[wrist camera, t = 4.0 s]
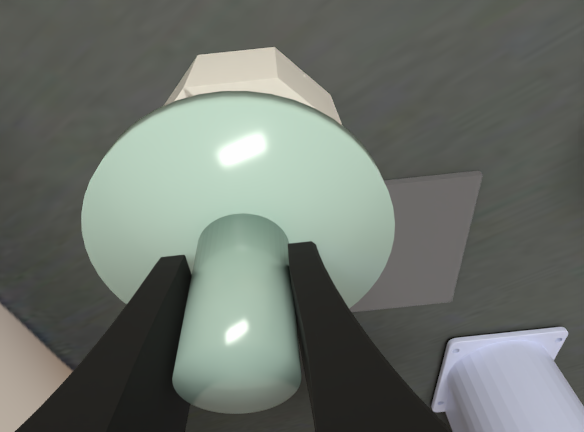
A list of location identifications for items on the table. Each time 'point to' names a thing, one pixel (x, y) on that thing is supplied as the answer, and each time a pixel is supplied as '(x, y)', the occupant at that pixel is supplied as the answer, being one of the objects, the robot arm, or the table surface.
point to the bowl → (253, 78)
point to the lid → (237, 230)
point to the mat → (425, 240)
